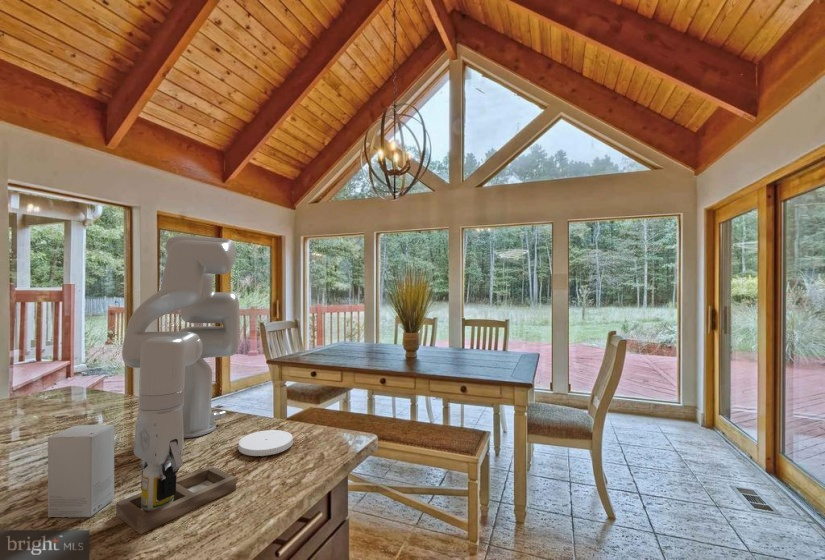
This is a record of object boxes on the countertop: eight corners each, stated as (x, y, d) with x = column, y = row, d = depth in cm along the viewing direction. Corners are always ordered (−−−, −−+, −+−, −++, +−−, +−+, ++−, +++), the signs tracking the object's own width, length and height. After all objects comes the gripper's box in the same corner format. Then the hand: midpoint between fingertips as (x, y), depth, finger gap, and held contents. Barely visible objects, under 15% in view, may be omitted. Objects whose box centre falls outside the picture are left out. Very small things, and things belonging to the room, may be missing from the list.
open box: (210, 476, 89) (210, 465, 89) (236, 489, 84) (236, 477, 84) (115, 515, 73) (116, 502, 73) (140, 534, 68) (141, 520, 68)
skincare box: (114, 500, 78) (118, 423, 79) (88, 519, 72) (92, 436, 72) (73, 500, 78) (76, 423, 78) (42, 519, 71) (46, 435, 72)
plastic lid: (226, 456, 100) (226, 446, 100) (259, 436, 114) (259, 427, 114) (274, 463, 97) (274, 452, 97) (301, 441, 111) (302, 432, 111)
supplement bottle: (134, 512, 72) (136, 461, 72) (151, 497, 77) (152, 449, 78) (164, 511, 73) (166, 461, 73) (179, 496, 78) (180, 449, 78)
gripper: (120, 396, 77) (116, 487, 76) (163, 413, 68) (159, 516, 67) (160, 388, 83) (157, 472, 83) (205, 403, 74) (201, 497, 74)
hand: (158, 491), depth 75 cm, fingers closed on supplement bottle, 5 cm apart
